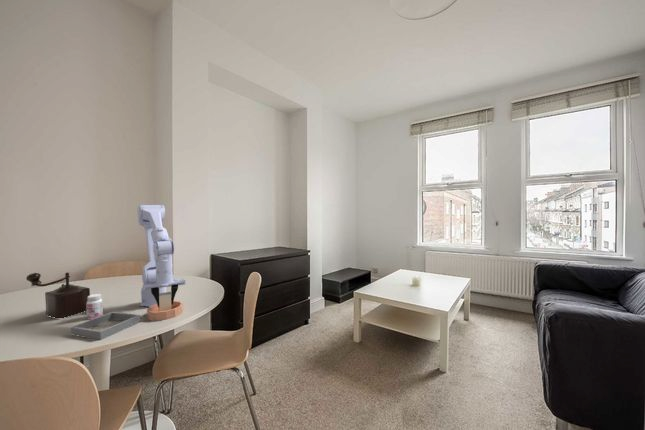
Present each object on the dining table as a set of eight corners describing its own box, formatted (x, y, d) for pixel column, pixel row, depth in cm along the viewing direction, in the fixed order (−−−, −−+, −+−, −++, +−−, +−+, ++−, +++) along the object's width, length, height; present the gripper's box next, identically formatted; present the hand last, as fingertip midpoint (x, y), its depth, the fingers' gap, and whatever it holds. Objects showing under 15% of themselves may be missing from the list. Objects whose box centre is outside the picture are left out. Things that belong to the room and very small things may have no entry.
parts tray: (71, 334, 89) (70, 327, 89) (113, 318, 102) (112, 311, 102) (100, 339, 85) (100, 332, 85) (140, 321, 98) (140, 315, 98)
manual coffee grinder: (76, 306, 115) (74, 265, 114) (91, 309, 111) (89, 267, 110) (26, 320, 100) (23, 273, 100) (41, 325, 96) (38, 276, 96)
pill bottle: (85, 320, 100) (84, 298, 100) (89, 315, 104) (88, 294, 104) (101, 317, 102) (100, 296, 102) (104, 313, 106) (103, 292, 106)
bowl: (140, 318, 101) (139, 310, 101) (166, 306, 112) (166, 299, 112) (165, 321, 98) (164, 313, 98) (189, 309, 109) (189, 302, 109)
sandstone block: (159, 311, 102) (159, 296, 102) (160, 308, 106) (159, 293, 105) (171, 309, 104) (171, 294, 104) (171, 306, 108) (171, 291, 107)
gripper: (141, 276, 97) (142, 312, 98) (185, 270, 104) (186, 304, 105) (143, 271, 104) (144, 306, 104) (184, 267, 111) (185, 299, 111)
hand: (165, 305), depth 105 cm, fingers closed on sandstone block, 4 cm apart
